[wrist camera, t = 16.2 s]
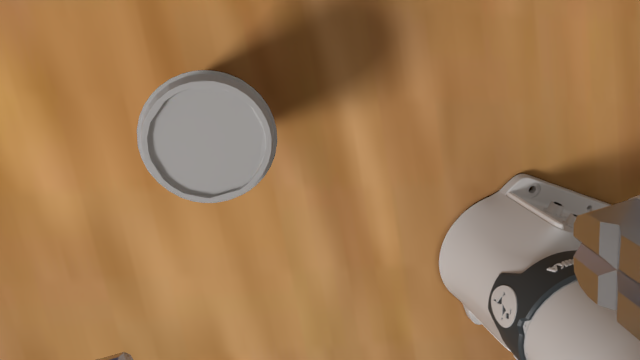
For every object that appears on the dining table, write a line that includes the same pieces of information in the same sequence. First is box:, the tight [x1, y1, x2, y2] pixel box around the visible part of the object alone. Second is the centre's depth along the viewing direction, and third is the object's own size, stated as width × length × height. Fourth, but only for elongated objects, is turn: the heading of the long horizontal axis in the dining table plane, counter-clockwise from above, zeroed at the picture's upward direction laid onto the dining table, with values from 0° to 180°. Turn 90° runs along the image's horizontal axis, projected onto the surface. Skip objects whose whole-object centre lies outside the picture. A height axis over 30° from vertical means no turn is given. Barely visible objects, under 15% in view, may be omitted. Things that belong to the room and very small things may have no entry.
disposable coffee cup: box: [137, 70, 277, 203], centre depth 37 cm, size 10×10×12 cm
